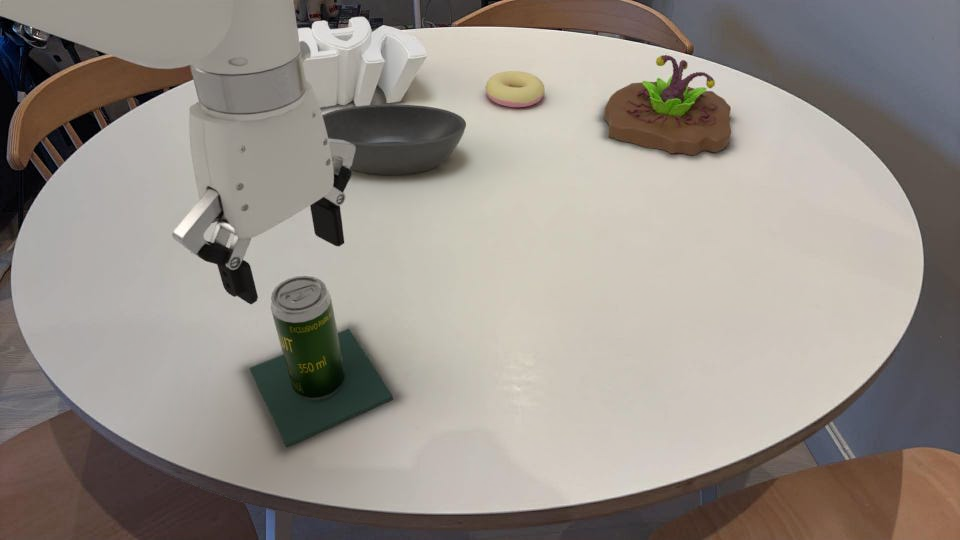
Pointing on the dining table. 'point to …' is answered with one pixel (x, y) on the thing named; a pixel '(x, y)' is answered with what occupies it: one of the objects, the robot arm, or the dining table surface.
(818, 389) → the dining table surface
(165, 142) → the dining table surface
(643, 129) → the plant
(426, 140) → the bowl
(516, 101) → the donut
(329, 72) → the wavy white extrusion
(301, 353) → the beer can
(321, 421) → the front mat
